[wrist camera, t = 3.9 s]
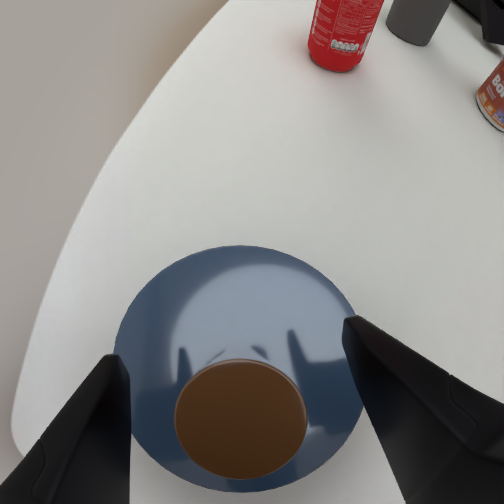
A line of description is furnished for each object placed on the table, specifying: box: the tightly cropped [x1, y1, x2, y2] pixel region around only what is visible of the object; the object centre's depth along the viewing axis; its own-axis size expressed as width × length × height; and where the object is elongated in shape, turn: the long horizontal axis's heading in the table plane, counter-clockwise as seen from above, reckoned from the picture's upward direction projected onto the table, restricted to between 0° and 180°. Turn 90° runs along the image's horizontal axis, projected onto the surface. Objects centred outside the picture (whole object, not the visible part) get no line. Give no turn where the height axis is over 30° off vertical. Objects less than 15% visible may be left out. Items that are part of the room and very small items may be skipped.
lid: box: [113, 245, 364, 493], centre depth 10 cm, size 12×12×9 cm
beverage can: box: [308, 0, 384, 72], centre depth 20 cm, size 5×5×12 cm
